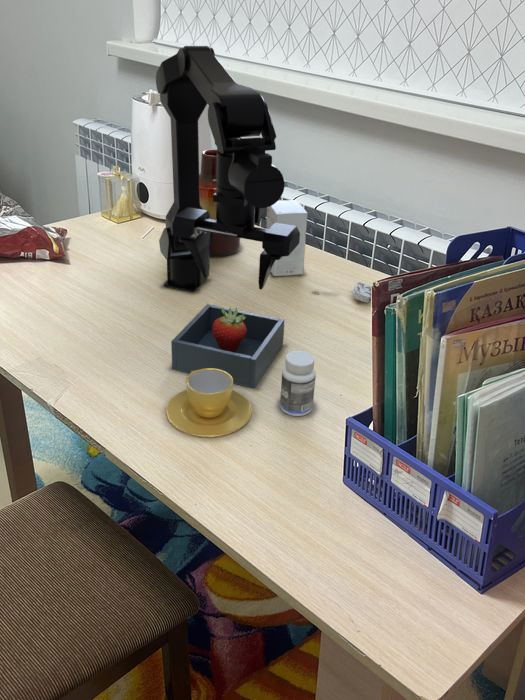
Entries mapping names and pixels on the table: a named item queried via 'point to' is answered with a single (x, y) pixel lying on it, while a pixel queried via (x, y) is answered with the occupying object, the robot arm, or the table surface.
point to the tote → (243, 365)
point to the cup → (208, 405)
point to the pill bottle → (298, 383)
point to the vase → (214, 204)
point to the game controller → (361, 291)
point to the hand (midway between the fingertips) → (233, 282)
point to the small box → (295, 216)
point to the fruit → (229, 330)
